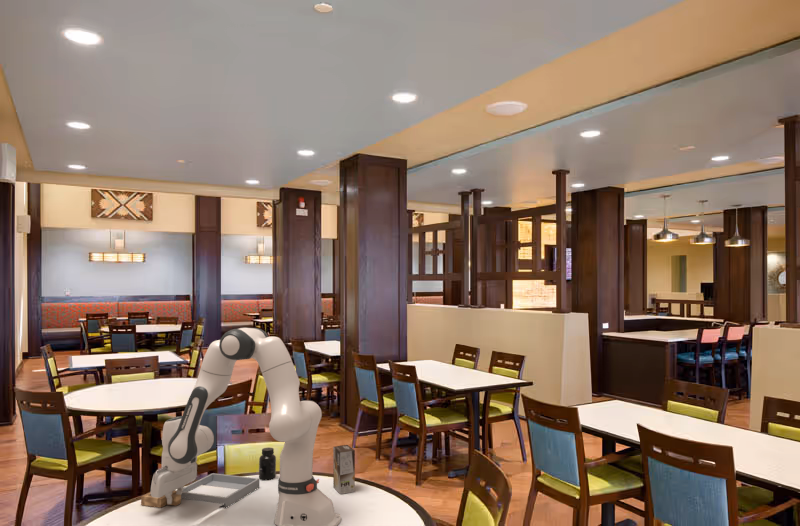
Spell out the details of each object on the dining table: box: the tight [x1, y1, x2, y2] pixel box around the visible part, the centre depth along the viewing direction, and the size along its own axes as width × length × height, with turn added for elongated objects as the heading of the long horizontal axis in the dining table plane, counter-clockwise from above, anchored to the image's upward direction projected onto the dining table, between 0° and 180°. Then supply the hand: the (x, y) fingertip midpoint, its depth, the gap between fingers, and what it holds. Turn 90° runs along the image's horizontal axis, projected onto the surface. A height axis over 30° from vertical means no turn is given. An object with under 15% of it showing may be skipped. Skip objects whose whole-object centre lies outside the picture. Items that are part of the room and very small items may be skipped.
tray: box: [181, 472, 260, 509], centre depth 211 cm, size 22×22×4 cm
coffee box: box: [332, 444, 356, 495], centre depth 217 cm, size 9×6×16 cm
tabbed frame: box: [140, 489, 182, 508], centre depth 199 cm, size 13×9×3 cm
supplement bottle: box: [258, 447, 277, 481], centre depth 230 cm, size 7×7×12 cm
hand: (174, 501), depth 197 cm, fingers closed on tabbed frame, 2 cm apart
